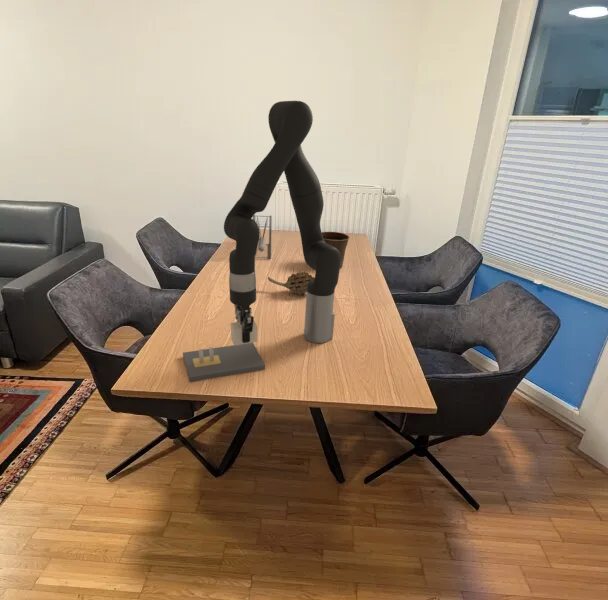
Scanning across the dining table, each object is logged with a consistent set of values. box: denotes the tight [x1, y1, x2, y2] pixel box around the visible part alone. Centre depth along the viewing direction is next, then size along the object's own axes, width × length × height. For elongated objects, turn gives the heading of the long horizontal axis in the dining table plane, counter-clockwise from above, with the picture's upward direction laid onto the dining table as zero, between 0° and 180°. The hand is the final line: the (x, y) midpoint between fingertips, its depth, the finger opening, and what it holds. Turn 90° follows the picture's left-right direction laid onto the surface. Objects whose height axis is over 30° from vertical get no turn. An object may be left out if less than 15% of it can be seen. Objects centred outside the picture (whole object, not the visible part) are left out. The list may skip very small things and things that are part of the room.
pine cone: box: [267, 270, 315, 295], centre depth 176 cm, size 22×10×10 cm, turn 84°
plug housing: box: [230, 320, 258, 346], centre depth 123 cm, size 7×4×6 cm, turn 112°
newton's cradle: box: [252, 214, 273, 260], centre depth 228 cm, size 30×10×18 cm, turn 4°
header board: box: [182, 342, 266, 383], centre depth 123 cm, size 22×14×6 cm, turn 112°
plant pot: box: [321, 231, 350, 269], centre depth 211 cm, size 16×16×16 cm
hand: (244, 338), depth 124 cm, fingers closed on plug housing, 4 cm apart
